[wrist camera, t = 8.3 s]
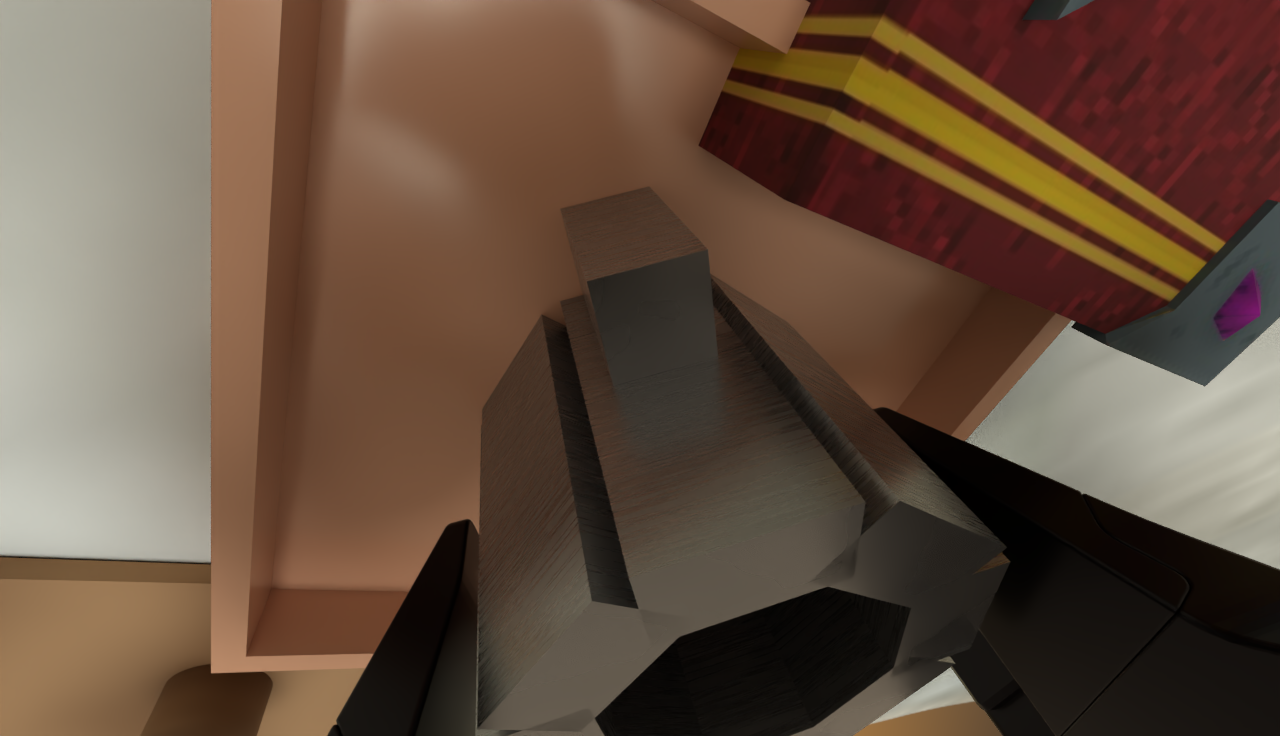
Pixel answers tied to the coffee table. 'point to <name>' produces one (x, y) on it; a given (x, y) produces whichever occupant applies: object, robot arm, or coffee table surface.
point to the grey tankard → (703, 516)
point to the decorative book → (1041, 153)
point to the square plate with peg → (138, 658)
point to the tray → (486, 272)
